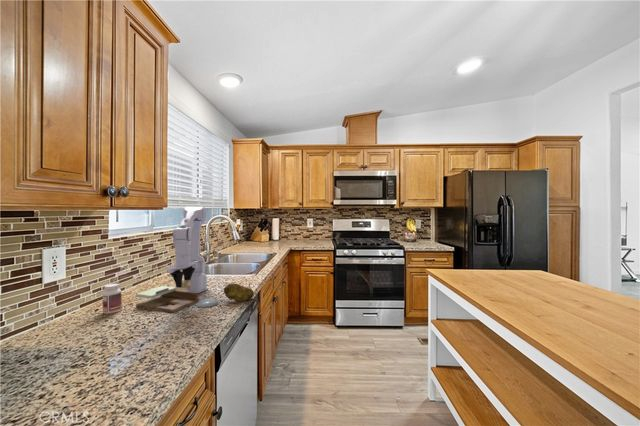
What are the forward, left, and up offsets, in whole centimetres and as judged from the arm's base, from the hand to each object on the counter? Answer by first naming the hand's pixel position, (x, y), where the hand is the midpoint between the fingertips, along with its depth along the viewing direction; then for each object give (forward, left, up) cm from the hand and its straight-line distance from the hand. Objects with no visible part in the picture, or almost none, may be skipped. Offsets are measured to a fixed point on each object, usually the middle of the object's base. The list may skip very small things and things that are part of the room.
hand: (183, 285), depth 114 cm
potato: (-13, +19, -9) cm, 25 cm away
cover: (+1, -15, -5) cm, 16 cm away
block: (0, 0, -2) cm, 2 cm away
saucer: (-5, +8, -9) cm, 13 cm away
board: (0, -8, -9) cm, 12 cm away
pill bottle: (+14, -24, -9) cm, 29 cm away
